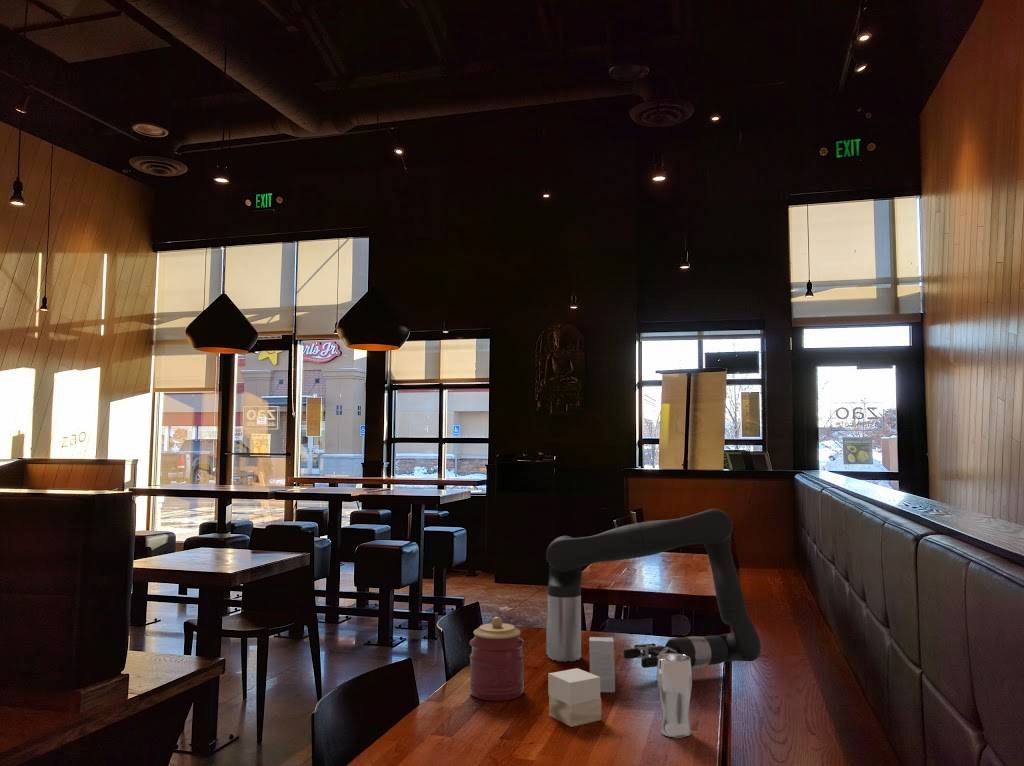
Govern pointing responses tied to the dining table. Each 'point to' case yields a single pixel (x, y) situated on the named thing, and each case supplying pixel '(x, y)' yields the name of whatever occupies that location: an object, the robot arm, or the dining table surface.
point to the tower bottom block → (575, 711)
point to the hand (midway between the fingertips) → (632, 658)
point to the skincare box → (603, 661)
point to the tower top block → (574, 686)
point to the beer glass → (674, 693)
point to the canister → (496, 662)
